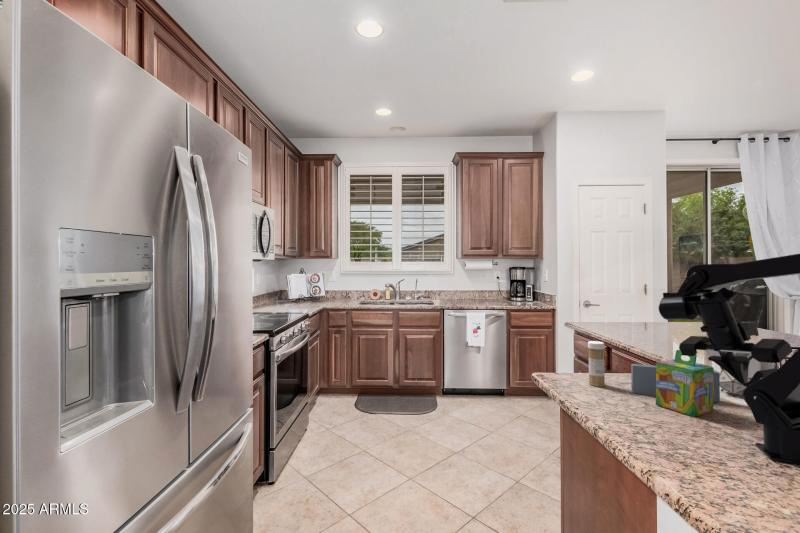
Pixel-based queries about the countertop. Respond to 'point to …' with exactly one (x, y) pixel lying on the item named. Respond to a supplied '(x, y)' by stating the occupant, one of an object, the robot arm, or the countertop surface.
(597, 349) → the sprinkles bottle
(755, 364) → the toilet tissue
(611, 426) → the countertop surface
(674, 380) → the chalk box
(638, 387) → the board
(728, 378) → the game die
